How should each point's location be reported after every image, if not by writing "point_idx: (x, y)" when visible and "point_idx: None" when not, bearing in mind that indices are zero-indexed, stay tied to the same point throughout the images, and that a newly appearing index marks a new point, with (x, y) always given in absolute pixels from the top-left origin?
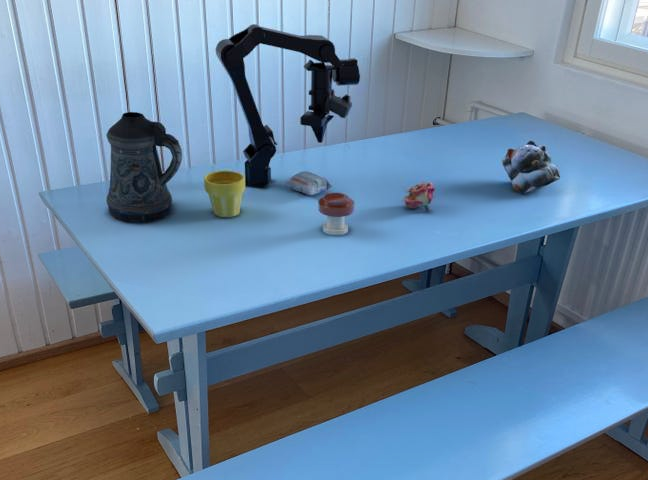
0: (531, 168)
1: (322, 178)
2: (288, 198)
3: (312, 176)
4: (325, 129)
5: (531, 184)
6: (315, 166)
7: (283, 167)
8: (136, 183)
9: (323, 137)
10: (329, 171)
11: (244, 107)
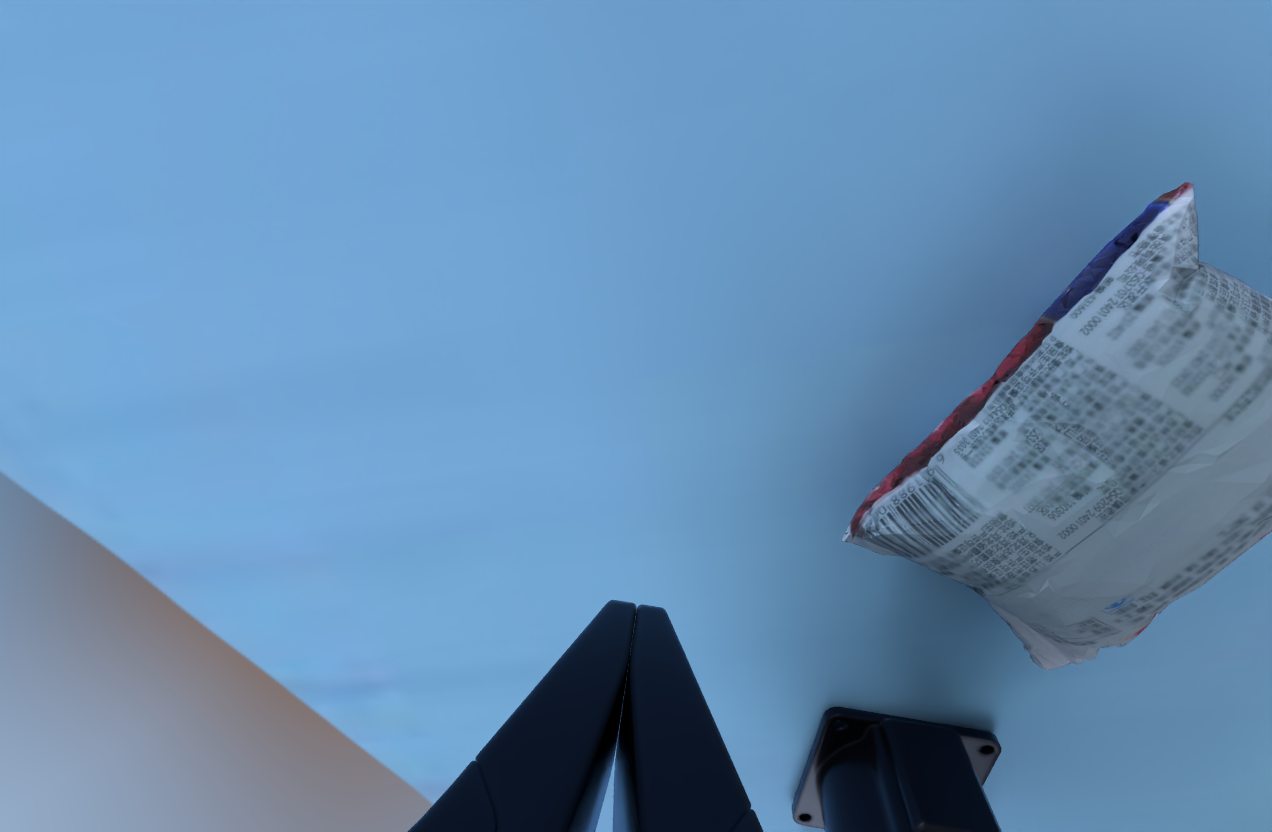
0: None
1: (1224, 337)
2: None
3: (1223, 467)
4: (504, 791)
5: None
6: (414, 452)
7: (532, 663)
8: None
9: (590, 648)
10: (484, 312)
11: None
